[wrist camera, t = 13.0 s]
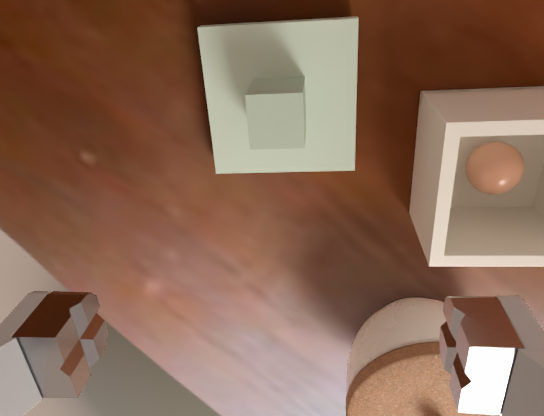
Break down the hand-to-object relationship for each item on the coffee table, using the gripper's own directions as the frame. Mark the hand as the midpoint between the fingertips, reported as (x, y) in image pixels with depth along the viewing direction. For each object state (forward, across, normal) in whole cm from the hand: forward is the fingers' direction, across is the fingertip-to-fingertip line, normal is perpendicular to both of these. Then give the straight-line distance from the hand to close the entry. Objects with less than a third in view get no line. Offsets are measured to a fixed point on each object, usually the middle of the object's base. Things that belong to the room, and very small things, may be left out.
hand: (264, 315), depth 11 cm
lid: (+18, -1, +1) cm, 18 cm away
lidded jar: (+19, +8, -18) cm, 27 cm away
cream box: (+19, +11, -4) cm, 22 cm away
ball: (+17, +11, -4) cm, 20 cm away
